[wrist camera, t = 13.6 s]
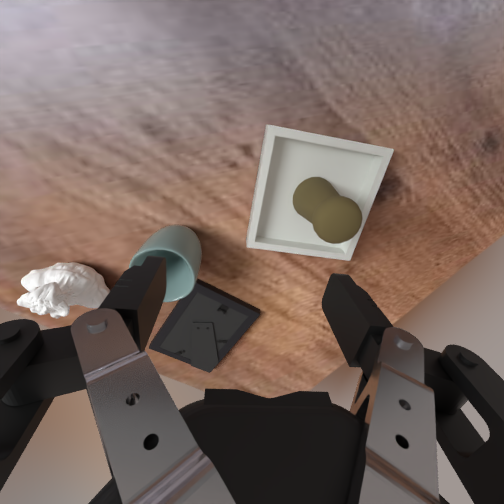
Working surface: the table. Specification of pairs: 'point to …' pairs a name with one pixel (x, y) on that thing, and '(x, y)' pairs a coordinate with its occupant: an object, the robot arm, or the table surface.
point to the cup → (174, 258)
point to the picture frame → (204, 326)
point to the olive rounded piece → (327, 210)
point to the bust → (62, 289)
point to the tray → (303, 167)
